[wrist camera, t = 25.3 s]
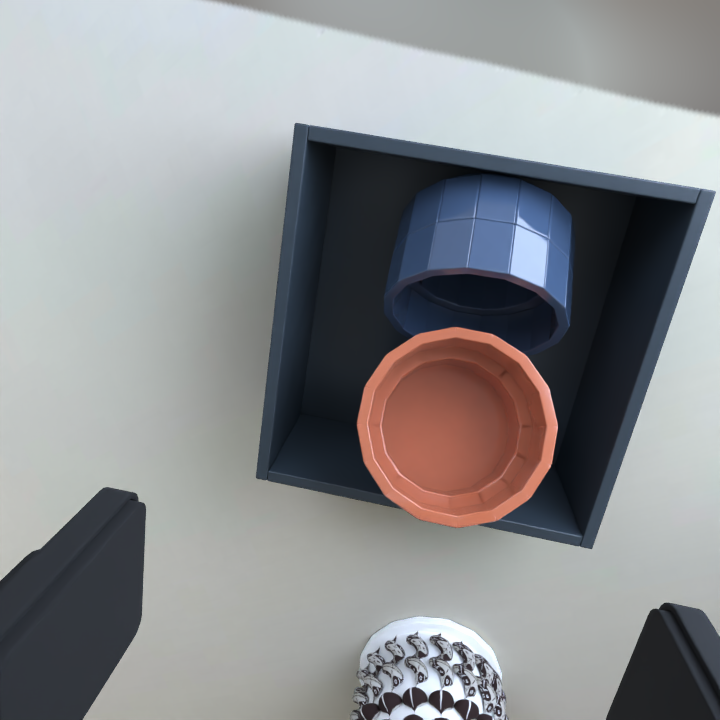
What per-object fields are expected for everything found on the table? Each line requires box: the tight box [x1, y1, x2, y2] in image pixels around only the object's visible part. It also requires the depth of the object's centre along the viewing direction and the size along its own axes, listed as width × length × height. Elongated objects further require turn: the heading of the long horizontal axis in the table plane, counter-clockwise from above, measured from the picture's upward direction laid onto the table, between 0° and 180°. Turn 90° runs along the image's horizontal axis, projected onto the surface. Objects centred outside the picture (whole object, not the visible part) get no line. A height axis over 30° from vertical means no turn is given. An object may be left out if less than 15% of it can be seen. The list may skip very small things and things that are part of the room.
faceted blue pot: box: [384, 173, 576, 356], centre depth 23 cm, size 7×7×4 cm
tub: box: [256, 123, 716, 549], centre depth 24 cm, size 14×14×6 cm
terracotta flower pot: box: [357, 327, 558, 528], centre depth 22 cm, size 7×7×4 cm
